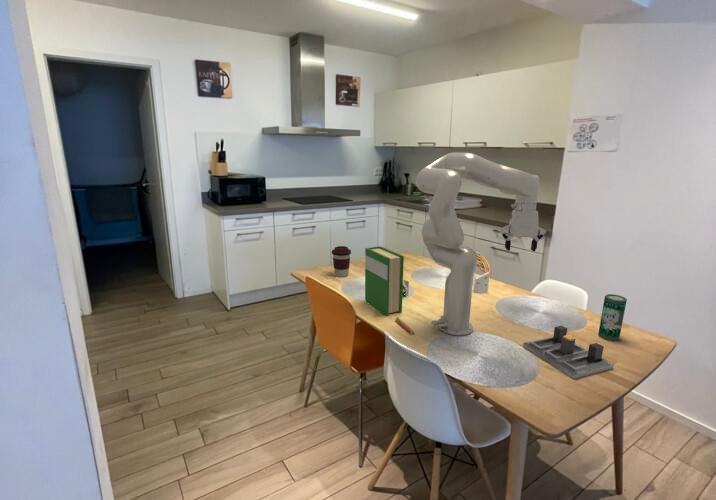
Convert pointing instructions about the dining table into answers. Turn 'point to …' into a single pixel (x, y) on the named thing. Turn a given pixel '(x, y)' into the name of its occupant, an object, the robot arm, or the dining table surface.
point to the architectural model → (405, 288)
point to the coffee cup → (341, 261)
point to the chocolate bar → (404, 326)
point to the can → (612, 317)
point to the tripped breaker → (567, 345)
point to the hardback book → (384, 279)
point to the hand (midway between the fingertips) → (520, 250)
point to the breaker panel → (569, 355)
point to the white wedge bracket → (481, 283)
